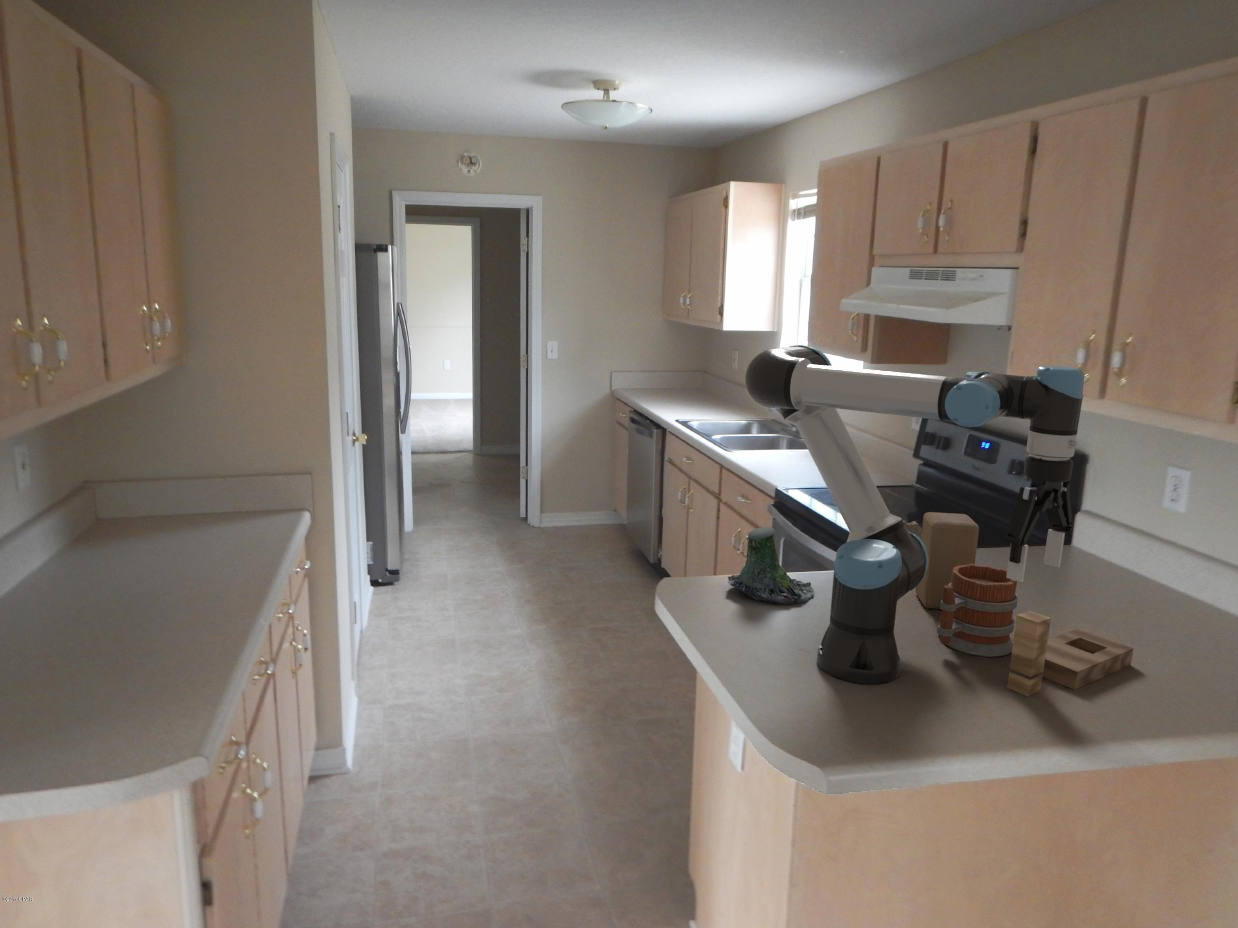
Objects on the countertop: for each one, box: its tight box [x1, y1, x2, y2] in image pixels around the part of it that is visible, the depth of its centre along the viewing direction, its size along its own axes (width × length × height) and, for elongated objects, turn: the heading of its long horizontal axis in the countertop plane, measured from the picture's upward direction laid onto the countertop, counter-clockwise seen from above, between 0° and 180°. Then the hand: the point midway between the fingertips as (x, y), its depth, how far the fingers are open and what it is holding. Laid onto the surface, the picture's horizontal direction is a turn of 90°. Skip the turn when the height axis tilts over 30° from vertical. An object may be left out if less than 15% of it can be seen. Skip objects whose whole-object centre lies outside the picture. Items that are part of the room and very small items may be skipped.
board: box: [1042, 628, 1134, 690], centre depth 171 cm, size 20×11×4 cm, turn 124°
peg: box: [1006, 610, 1051, 697], centre depth 159 cm, size 4×4×14 cm
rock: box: [902, 520, 922, 539], centre depth 233 cm, size 9×12×10 cm
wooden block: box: [914, 511, 980, 610], centre depth 200 cm, size 10×10×20 cm
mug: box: [936, 564, 1019, 658], centre depth 177 cm, size 14×19×15 cm
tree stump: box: [727, 526, 815, 606], centre depth 203 cm, size 18×20×18 cm
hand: (1033, 572), depth 159 cm, fingers open, 13 cm apart
